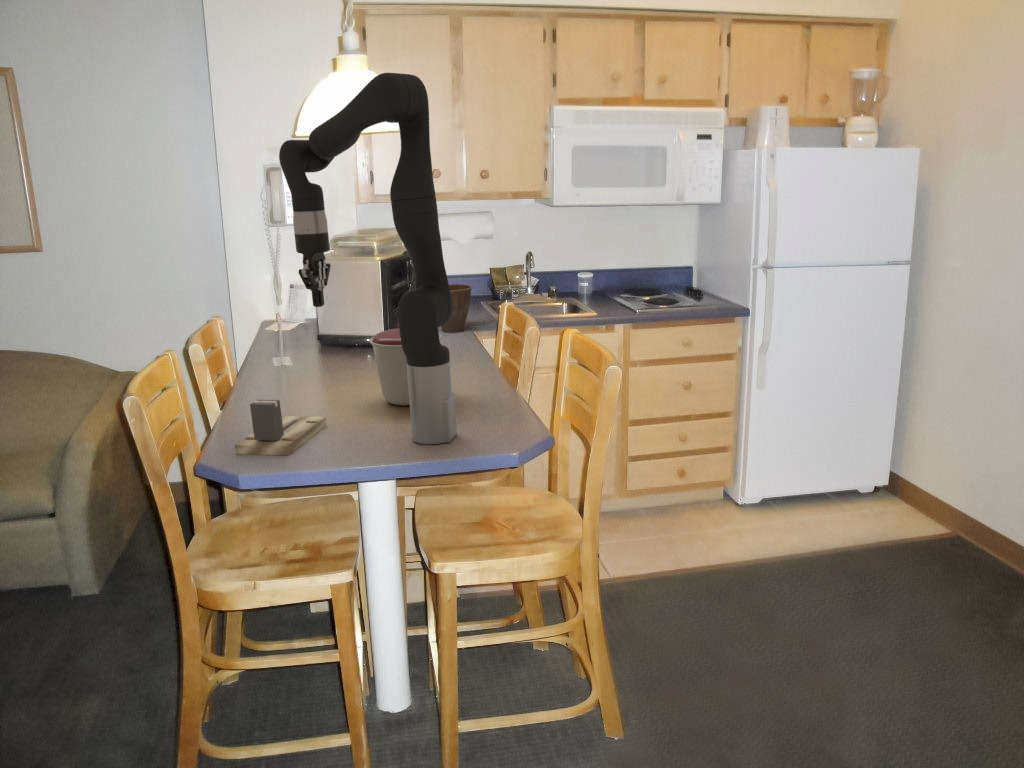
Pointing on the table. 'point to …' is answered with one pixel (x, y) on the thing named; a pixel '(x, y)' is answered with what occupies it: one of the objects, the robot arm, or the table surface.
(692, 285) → the table surface
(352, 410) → the table surface
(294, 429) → the fader panel
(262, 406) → the fader knob
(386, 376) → the canister
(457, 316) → the plant pot
